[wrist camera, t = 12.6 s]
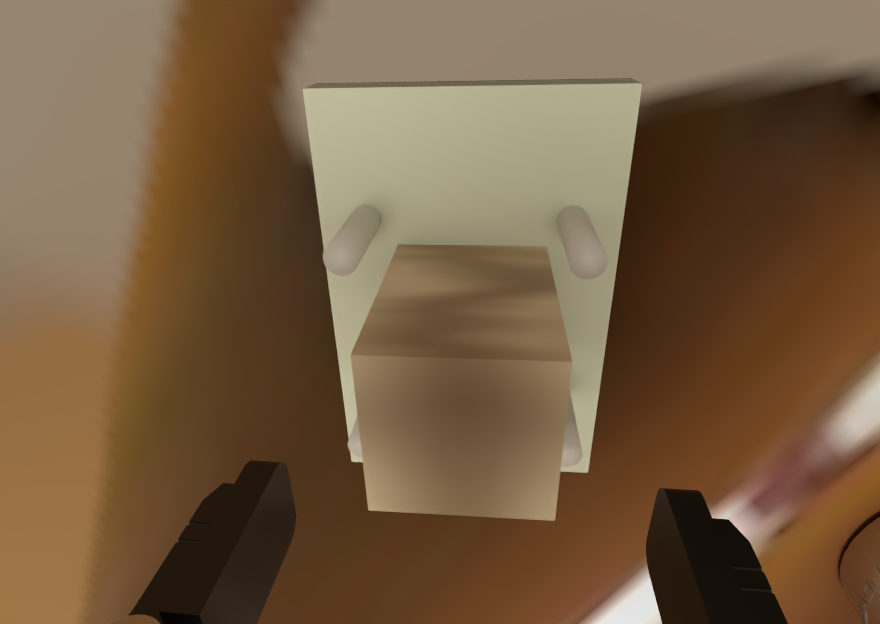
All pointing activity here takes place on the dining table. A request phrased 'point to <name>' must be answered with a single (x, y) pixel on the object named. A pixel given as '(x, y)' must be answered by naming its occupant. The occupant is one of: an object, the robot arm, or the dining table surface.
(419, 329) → the maple block
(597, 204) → the plate
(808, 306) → the dining table surface
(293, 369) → the dining table surface
